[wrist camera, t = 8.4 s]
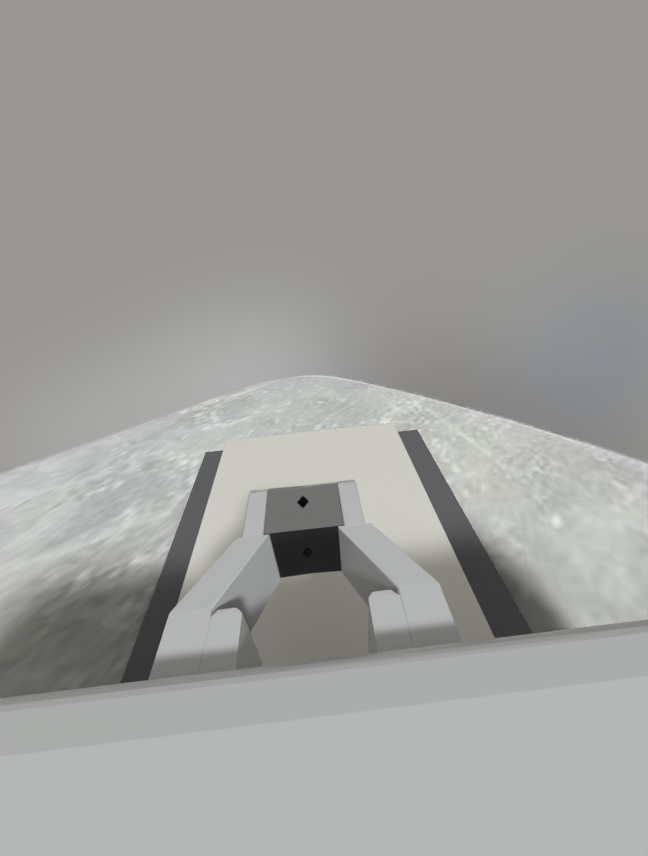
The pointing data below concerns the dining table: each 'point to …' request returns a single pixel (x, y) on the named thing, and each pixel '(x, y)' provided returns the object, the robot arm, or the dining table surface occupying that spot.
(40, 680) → the dining table surface
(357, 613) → the tile
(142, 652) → the mat
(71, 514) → the dining table surface
